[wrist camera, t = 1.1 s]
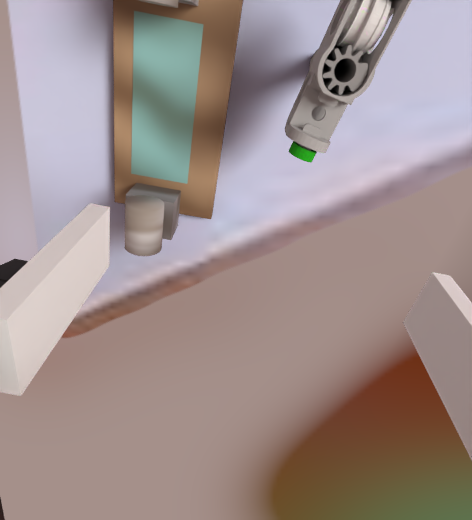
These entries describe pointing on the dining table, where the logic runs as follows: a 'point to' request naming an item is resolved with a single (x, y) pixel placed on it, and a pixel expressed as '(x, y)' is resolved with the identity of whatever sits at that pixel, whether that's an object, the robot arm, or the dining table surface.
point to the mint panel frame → (169, 110)
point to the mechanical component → (340, 71)
